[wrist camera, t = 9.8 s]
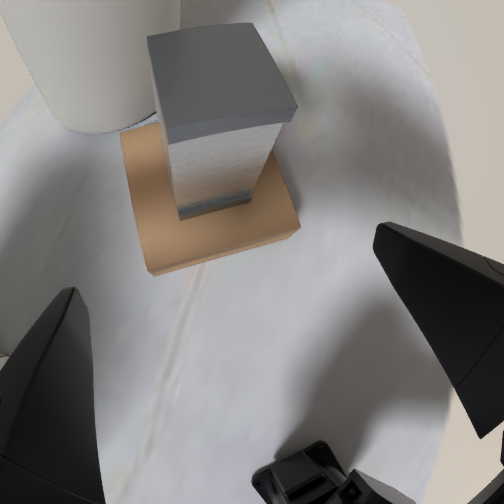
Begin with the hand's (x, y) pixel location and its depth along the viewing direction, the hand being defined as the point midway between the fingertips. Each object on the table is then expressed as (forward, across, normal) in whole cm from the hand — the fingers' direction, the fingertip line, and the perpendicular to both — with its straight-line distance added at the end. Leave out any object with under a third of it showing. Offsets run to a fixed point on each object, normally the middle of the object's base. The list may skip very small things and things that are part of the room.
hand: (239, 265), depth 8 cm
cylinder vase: (+24, +5, -4) cm, 25 cm away
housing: (+12, -1, +2) cm, 13 cm away
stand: (+15, -1, +4) cm, 15 cm away
